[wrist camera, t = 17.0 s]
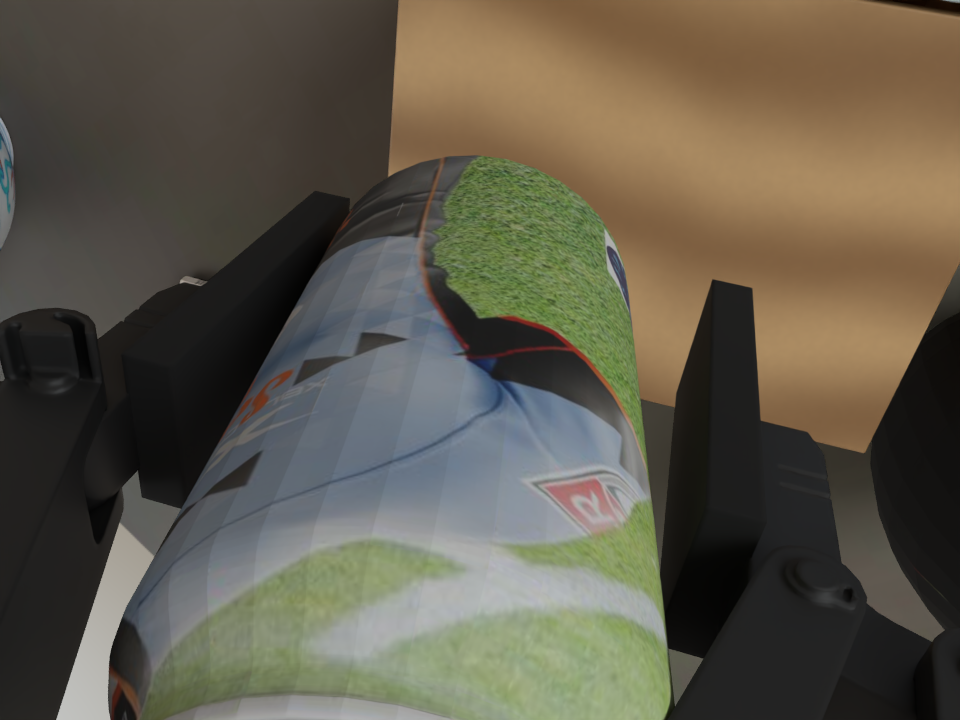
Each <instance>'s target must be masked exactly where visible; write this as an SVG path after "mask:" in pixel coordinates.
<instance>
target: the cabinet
mask: <svg viewBox="0 0 960 720" xmlns="http://www.w3.org/2000/svg"><path fill="white" fill-rule="evenodd" d="M471 155H479V156H487V157H494V158H502V159H508V160H511V161H514V162H517V163H520V164H524V165H527V166H530V167H533V168H536V169H538V170H539V171H541V172H543V173H545V174H547V175H549V176H551V177H553V178H555V179H557V180H559V181H561V182H562V183H563V184H565V185H566V186H567V187H569V188H570V189H571V190H573V191H574V192H575V193H577V194H578V195H579V196H581V197H582V198H583V199H584V200H585V201H586V202H587V203H588V205H589V206H590V207H591V208H592V209H593V210H594V211H595V212H596V213H597V214H598V215H599V216H600V217H601V219H602V221H603V222H604V224H605V225H606V227H607V229H608V230H609V232H610V233H611V235H612V237H613V238H614V240H615V242H616V245H617V247H618V250H619V252H620V255H621V258H622V260H623V263H624V268H625V273H626V279H627V285H628V293H629V302H630V311H631V320H632V329H633V337H634V346H635V355H636V364H637V373H638V382H639V391H640V399H642V400H646V401H650V402H655V403H659V404H663V405H667V406H671V407H675V401H676V392H677V389H678V386H679V383H680V380H681V377H682V374H683V370H684V367H685V364H686V361H687V358H688V355H689V351H690V348H691V345H692V342H693V339H694V336H695V333H696V329H697V326H698V323H699V320H700V317H701V314H702V310H703V307H704V304H705V301H706V298H707V295H708V292H709V288H710V285H711V282H712V279H715V280H719V281H724V282H728V283H733V284H737V285H742V286H746V287H751V288H752V289H753V305H754V321H755V337H756V353H757V369H758V385H759V401H760V417H761V421H765V422H769V423H773V424H777V425H781V426H785V427H789V428H793V429H797V430H802V431H806V432H808V433H809V435H810V436H811V437H812V439H813V440H814V441H815V442H819V443H823V444H828V445H832V446H836V447H840V448H844V449H848V450H852V451H856V452H860V453H865V451H866V449H867V447H868V445H869V443H870V441H871V439H872V437H873V435H874V433H875V431H876V429H877V427H878V425H879V423H880V421H881V419H882V417H883V415H884V413H885V411H886V409H887V407H888V405H889V403H890V401H891V399H892V397H893V395H894V393H895V391H896V389H897V387H898V385H899V383H900V381H901V379H902V377H903V375H904V373H905V371H906V369H907V367H908V365H909V363H910V361H911V359H912V357H913V355H914V353H915V351H916V349H917V347H918V345H919V343H920V341H921V339H922V337H923V335H924V333H925V331H926V329H927V327H928V325H929V323H930V321H931V319H932V317H933V315H934V313H935V311H936V309H937V307H938V305H939V303H940V301H941V299H942V297H943V295H944V293H945V291H946V289H947V287H948V285H949V283H950V281H951V279H952V277H953V275H954V273H955V271H956V269H957V267H958V265H959V263H960V3H956V2H949V1H943V0H399V1H398V18H397V34H396V51H395V68H394V85H393V101H392V118H391V135H390V151H389V168H388V177H389V176H391V175H392V174H394V173H396V172H398V171H400V170H403V169H405V168H408V167H410V166H413V165H415V164H418V163H420V162H424V161H429V160H433V159H438V158H443V157H448V156H471Z"/></svg>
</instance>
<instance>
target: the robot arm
mask: <svg viewBox="0 0 960 720" xmlns="http://www.w3.org/2000/svg"><path fill="white" fill-rule="evenodd" d="M349 203H350V199H349V198H345V197H340V196H335V195H331V194H326V193H322V192H317V191H314V192H313V193H312V194H311V195H310V196H308V197H307V198H306V199H305V200H304V201H302V202H301V203H300V204H299V205H298V206H296V207H295V208H294V209H293V210H292V211H290V212H289V213H288V214H287V215H286V216H285V217H283V218H282V219H281V220H280V221H279V222H277V223H276V224H275V225H274V226H273V227H271V228H270V229H269V230H268V231H267V232H266V233H264V234H263V235H262V236H261V237H260V238H258V239H257V240H256V241H255V242H254V243H252V244H251V245H250V246H249V247H248V248H246V249H245V250H244V251H243V252H242V253H241V254H239V255H238V256H237V257H236V258H235V259H233V260H232V261H231V262H230V263H229V264H227V265H226V266H225V267H224V268H223V269H221V270H220V271H219V272H218V273H217V274H216V275H214V276H213V277H212V278H211V279H210V280H208V281H207V282H206V283H205V284H204V285H202V286H199V285H195V284H190V283H186V282H183V283H181V284H178V285H175V286H173V287H170V288H168V289H165V290H162V291H160V292H158V293H156V294H155V295H154V296H152V297H151V298H150V299H149V300H147V301H146V302H145V303H144V304H142V305H141V306H140V308H139V310H135V311H133V312H132V313H131V314H130V315H128V316H127V317H126V318H125V320H124V322H122V321H121V322H119V323H118V324H117V325H116V326H114V327H113V328H112V329H110V330H109V331H108V332H107V333H105V334H104V335H103V336H102V337H100V338H99V339H98V340H97V334H96V328H95V324H94V322H93V321H92V320H91V319H90V318H89V316H87V315H85V314H82V313H80V312H78V311H76V310H69V309H62V308H48V309H36V310H32V311H28V312H24V313H19V314H17V315H15V316H13V317H11V318H9V319H6V320H4V321H3V322H2V323H1V324H0V361H1V365H2V369H3V373H4V377H5V379H4V381H0V720H56V718H57V715H58V712H59V709H60V706H61V703H62V699H63V696H64V693H65V690H66V687H67V684H68V681H69V678H70V674H71V672H72V668H73V665H74V662H75V659H76V656H77V653H78V649H79V647H80V643H81V640H82V637H83V634H84V631H85V628H86V625H87V622H88V619H89V615H90V612H91V609H92V606H93V603H94V600H95V597H96V594H97V590H98V587H99V584H100V581H101V578H102V575H103V572H104V569H105V566H106V562H107V559H108V556H109V553H110V550H111V547H112V544H113V541H114V537H115V534H116V531H117V528H118V525H119V522H120V519H121V516H122V513H123V504H124V499H123V492H122V486H123V485H124V484H125V483H126V482H127V481H128V480H129V479H130V478H131V477H132V476H133V475H134V474H135V473H136V472H137V470H138V474H139V481H140V488H141V494H142V498H146V499H149V500H153V501H156V502H160V503H163V504H167V505H170V506H174V507H177V508H181V509H182V507H183V505H184V503H185V502H186V500H187V498H188V496H189V495H190V493H191V491H192V489H193V487H194V486H195V484H196V482H197V480H198V478H199V477H200V475H201V473H202V471H203V470H204V468H205V466H206V464H207V462H208V461H209V459H210V457H211V455H212V454H213V452H214V450H215V448H216V446H217V445H218V443H219V441H220V439H221V437H222V436H223V434H224V432H225V430H226V429H227V427H228V425H229V423H230V421H231V420H232V418H233V416H234V414H235V413H236V411H237V409H238V407H239V405H240V404H241V402H242V400H243V398H244V397H245V395H246V393H247V391H248V389H249V388H250V386H251V384H252V382H253V380H254V379H255V377H256V375H257V373H258V372H259V370H260V368H261V366H262V364H263V363H264V361H265V359H266V357H267V356H268V354H269V352H270V350H271V348H272V347H273V345H274V343H275V341H276V339H277V338H278V336H279V334H280V332H281V331H282V329H283V327H284V325H285V323H286V322H287V320H288V318H289V316H290V315H291V313H292V311H293V309H294V307H295V306H296V304H297V302H298V300H299V299H300V297H301V295H302V293H303V291H304V290H305V288H306V286H307V284H308V282H309V281H310V279H311V277H312V275H313V274H314V272H315V270H316V268H317V266H318V265H319V263H320V261H321V259H322V258H323V256H324V254H325V252H326V250H327V249H328V247H329V245H330V243H331V241H332V240H333V238H334V236H335V234H336V233H337V231H338V229H339V227H340V225H341V224H342V222H343V221H344V220H345V218H346V217H347V215H348V214H349ZM660 579H661V588H662V597H663V606H664V615H665V623H666V632H667V641H668V648H669V649H672V650H676V651H679V652H683V653H686V654H690V655H693V656H697V657H700V658H704V659H703V661H702V662H701V664H700V666H699V667H698V669H697V671H696V673H695V674H694V676H693V678H692V679H691V681H690V683H689V684H688V686H687V688H686V689H685V691H684V693H683V694H682V696H681V698H680V699H679V701H678V703H677V704H676V706H675V708H674V709H673V711H672V713H671V715H670V716H669V718H668V720H960V628H953V629H946V630H945V631H943V632H942V633H941V634H939V635H938V636H937V637H936V638H935V639H934V640H933V642H931V641H929V640H927V639H925V638H923V637H921V636H919V635H918V634H916V633H914V632H912V631H910V630H908V629H906V628H904V627H902V626H900V625H898V624H896V623H894V622H893V621H891V620H889V619H888V618H886V617H884V616H883V615H881V614H879V613H878V612H877V611H875V610H874V609H873V608H872V607H870V606H869V605H868V604H867V603H866V602H867V596H866V594H865V592H864V590H863V587H862V585H861V583H860V581H859V580H858V579H857V578H856V577H855V576H854V574H853V573H852V572H851V571H850V570H849V569H848V568H847V567H846V566H845V565H843V564H842V563H841V557H840V551H839V544H838V538H837V532H836V526H835V520H834V514H833V508H832V501H831V499H830V489H829V483H828V481H827V471H826V465H825V459H824V454H823V453H822V451H821V450H820V449H819V447H818V446H817V444H816V443H815V442H814V440H813V439H812V437H811V436H810V435H809V433H808V432H806V431H802V430H797V429H793V428H789V427H785V426H781V425H777V424H773V423H769V422H765V421H761V417H760V401H759V385H758V369H757V353H756V337H755V321H754V305H753V289H752V288H751V287H746V286H742V285H737V284H733V283H728V282H724V281H719V280H715V279H712V282H711V285H710V288H709V292H708V295H707V298H706V301H705V304H704V307H703V310H702V314H701V317H700V320H699V323H698V326H697V329H696V333H695V336H694V339H693V342H692V345H691V348H690V351H689V355H688V358H687V361H686V364H685V367H684V370H683V374H682V377H681V380H680V383H679V386H678V389H677V392H676V401H675V412H674V423H673V435H672V446H671V457H670V468H669V479H668V490H667V502H666V513H665V524H664V535H663V546H662V558H661V569H660Z"/></svg>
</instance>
